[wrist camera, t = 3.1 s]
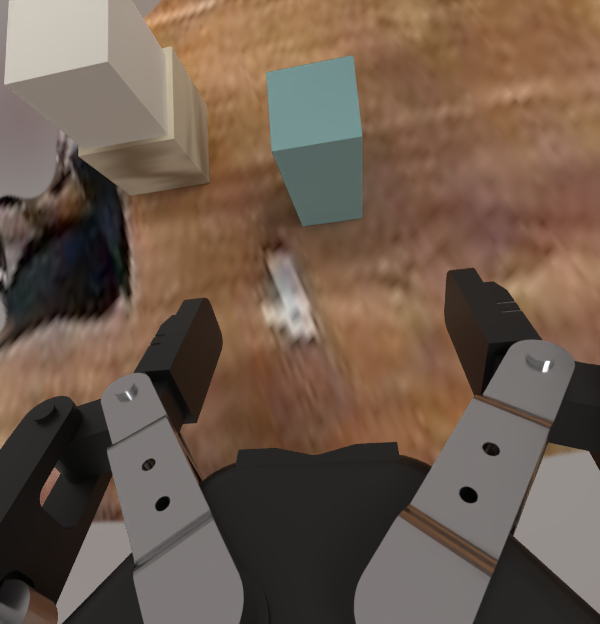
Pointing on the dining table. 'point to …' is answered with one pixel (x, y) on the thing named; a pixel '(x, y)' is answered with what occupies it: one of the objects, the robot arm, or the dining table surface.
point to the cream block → (88, 69)
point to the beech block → (162, 143)
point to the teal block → (318, 138)
